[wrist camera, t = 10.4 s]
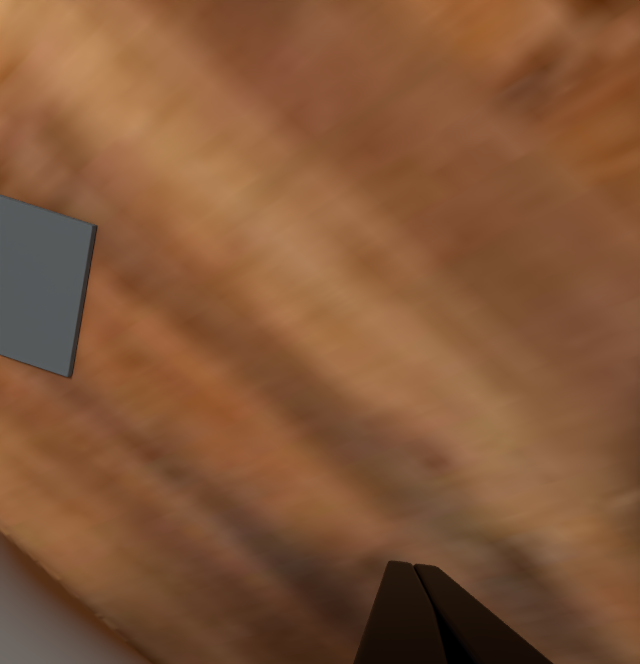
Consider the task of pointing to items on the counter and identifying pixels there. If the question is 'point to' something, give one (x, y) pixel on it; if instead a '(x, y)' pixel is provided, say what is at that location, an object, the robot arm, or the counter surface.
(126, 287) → the counter surface
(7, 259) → the slate mat
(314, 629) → the counter surface
